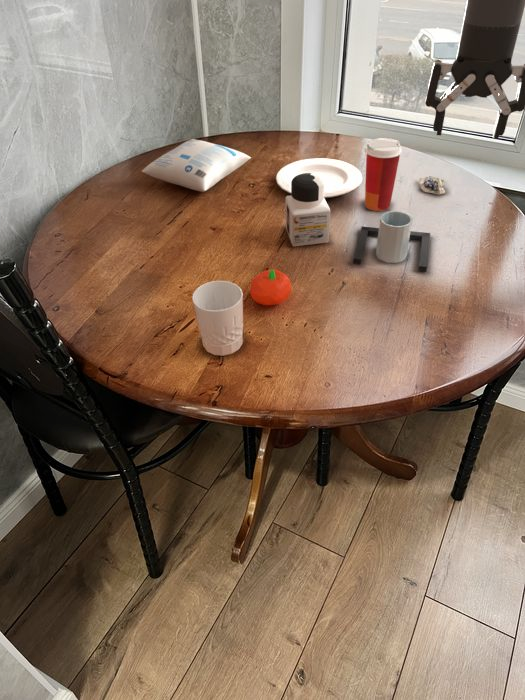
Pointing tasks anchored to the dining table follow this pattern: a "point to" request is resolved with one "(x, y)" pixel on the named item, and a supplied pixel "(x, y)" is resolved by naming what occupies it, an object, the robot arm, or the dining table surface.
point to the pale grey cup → (393, 236)
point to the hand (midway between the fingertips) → (466, 135)
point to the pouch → (196, 164)
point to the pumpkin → (270, 287)
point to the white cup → (219, 316)
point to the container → (307, 211)
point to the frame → (413, 236)
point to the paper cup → (381, 172)
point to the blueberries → (432, 185)
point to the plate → (323, 175)
